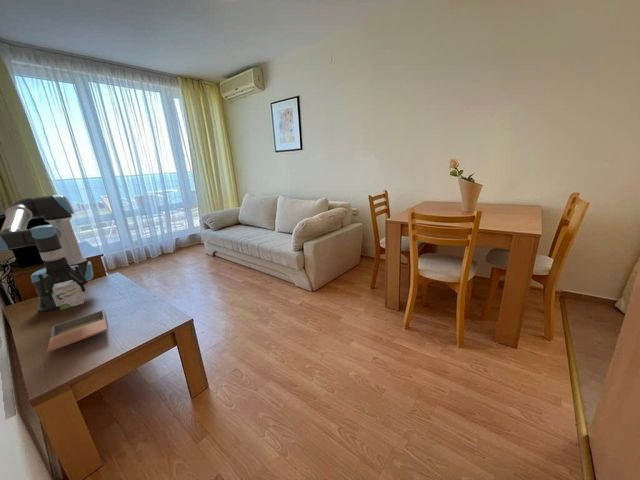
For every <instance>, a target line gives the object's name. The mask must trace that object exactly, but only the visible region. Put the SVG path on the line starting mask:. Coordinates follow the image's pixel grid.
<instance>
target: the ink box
mask: <svg viewBox="0 0 640 480" xmlns="http://www.w3.org/2000/svg"><path fill="white" fill-rule="evenodd" d="M78 286H79V285H78V284H77V283H76V282H74V281H73V280H70V281H66V282H62V283H58V284H54V286H53V288H52V289H53V292H54V294H55V297H56V299H57V302H58V304H59V307H60V308H59V309H60V311H62V310H65V309H68V308H72V307H75V306H79V305H82V304H84V303H85V301H84V299H83V298H82V296H81V293H80V291H79V288H78Z"/></svg>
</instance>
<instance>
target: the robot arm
mask: <svg viewBox="0 0 640 480" xmlns="http://www.w3.org/2000/svg"><path fill="white" fill-rule="evenodd" d="M73 214H75V211H74V208H73V206H72V204H71V203H70V201H69V199H68V198H67V196H65V195H62V194H57V195H55V194H53V195H44V196H33V197H24V198H21V199H19V200H16V201H15V202H13V203H12V204H10V205H8V207H7V208H6V209H5V211H4V216H5V219H4V222H3V224H2V226H1V229H0V252H1V251H8V250H13V249H19V248H25V247H31V246H36V248H37V250H38V253H39V255H40V258H41V260H42V263H43V265H44V268H41V269H39V270H37V271H35V272H33V273H31V275H30V279H31V284H33V287H34V289H35V291H36V293H37V296H38V307H37V308H38V310H39V311H41V312H49V311H55V310H58V309H60V307H59V304H58V302H57V299H56V297H55V294H54V292H53V289H52V288H53V286H54V284H58V283H62V282H66V281H70V280H73V281H74V282H76V283H77V284H78V288H79V291H80V293H81V296H82V298H83V300H84V299H86V298H85V294H84V292H86V288H85V285H87V284H88V281H90V280H92V279H94V270H93V265H92V262H91V261H88V259H87V258H86V257H84V256H83V254H82V252H81V249H80V248H81V247H80V246H79V243H78V240H77V238H76V237H77V236H76V234H75V231H74V229H73V226H72V223H71V219H72V218H73ZM42 218H43V220H44V222H47V223H48V224H43V225H37V226H34V227H31V228H29V229H27V227H28V224H29V222H30V221H31V220H33V219H34V220H35V219H42Z"/></svg>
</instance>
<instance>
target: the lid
mask: <svg viewBox="0 0 640 480" xmlns="http://www.w3.org/2000/svg"><path fill="white" fill-rule="evenodd" d="M107 331H108V327H107V324H106V319H103V320H100V321H97V322H94V323H92V324H89V325H86V326H83V327H80V328H77V329H74V330H71V331H68V332H65V333H62V334H59V335H57V336H54V337H51V336H50V337H49V340H48V346H47V348H46V349H47V350H46V351H47V353H49V352H52V351H54V350H56V349H60V348H63V347H65V346H68V345H71V344H73V343H76V342H79V341H81V340H84V339H86V338H87V339H88V338H90V337H93V336H95V335H97V334H101V333H103V332H104V333H105V332H107Z"/></svg>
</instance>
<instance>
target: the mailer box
mask: <svg viewBox="0 0 640 480" xmlns="http://www.w3.org/2000/svg"><path fill="white" fill-rule="evenodd" d="M103 319H106V324H107V328H108V327H109V324H108V320H107V315H106V312H105V310H104V309H101V310H98V311H95V312H92V313H88V314H85V315H82V316H79V317H76V318H73V319H70V320H66V321H64V322H61V323H58V324H55V325H52V328H51V334H50V338H51V337H54V336H57V335H59V334H62V333H65V332H68V331H71V330H74V329H77V328H80V327H83V326H86V325H89V324H92V323H94V322H97V321H100V320H103Z"/></svg>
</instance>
